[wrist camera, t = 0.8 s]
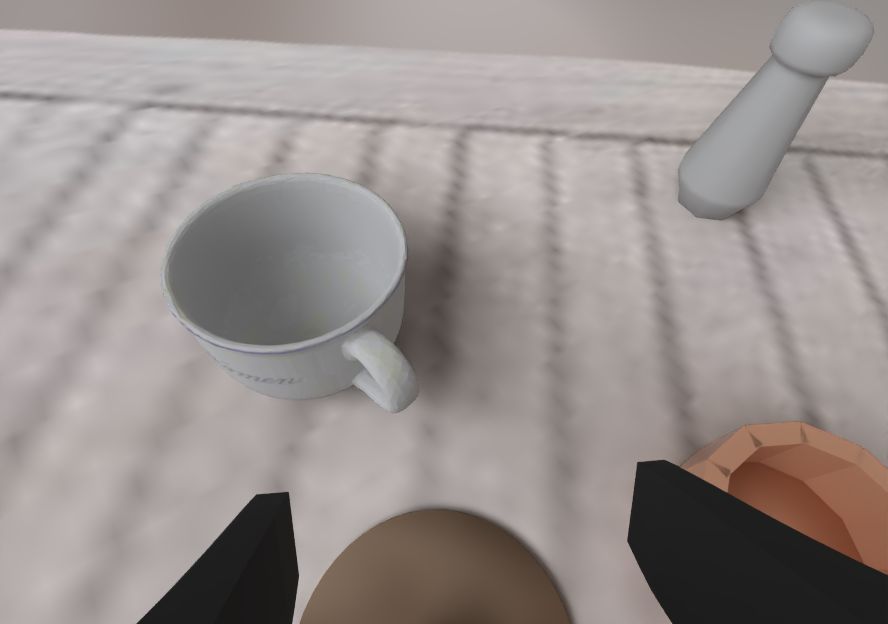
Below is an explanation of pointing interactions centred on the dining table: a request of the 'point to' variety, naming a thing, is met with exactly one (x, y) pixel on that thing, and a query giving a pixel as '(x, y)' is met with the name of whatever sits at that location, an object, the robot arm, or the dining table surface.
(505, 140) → the dining table surface
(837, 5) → the salt shaker
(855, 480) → the bowl
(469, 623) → the lid
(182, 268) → the teacup
